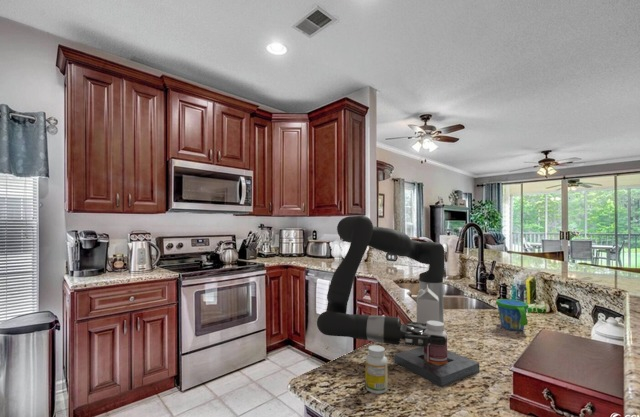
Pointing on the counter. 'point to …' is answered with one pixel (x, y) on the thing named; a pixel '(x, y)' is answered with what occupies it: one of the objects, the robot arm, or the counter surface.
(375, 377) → the supplement bottle
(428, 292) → the milk carton
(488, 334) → the counter surface
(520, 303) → the snack cup
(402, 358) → the holder block
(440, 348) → the pill bottle
